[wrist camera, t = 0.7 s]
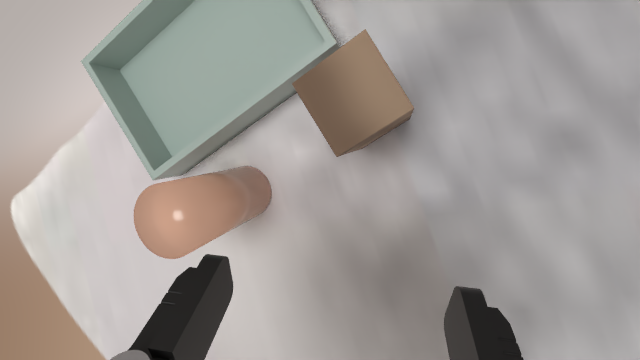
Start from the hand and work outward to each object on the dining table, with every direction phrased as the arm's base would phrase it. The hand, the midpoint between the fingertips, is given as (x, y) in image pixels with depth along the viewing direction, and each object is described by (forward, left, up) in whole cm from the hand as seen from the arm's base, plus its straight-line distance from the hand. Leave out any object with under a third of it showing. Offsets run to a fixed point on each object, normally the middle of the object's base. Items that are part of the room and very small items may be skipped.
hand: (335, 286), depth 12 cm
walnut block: (-4, -6, -17) cm, 18 cm away
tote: (+5, -17, -17) cm, 25 cm away
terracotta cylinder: (+10, -6, -17) cm, 21 cm away
